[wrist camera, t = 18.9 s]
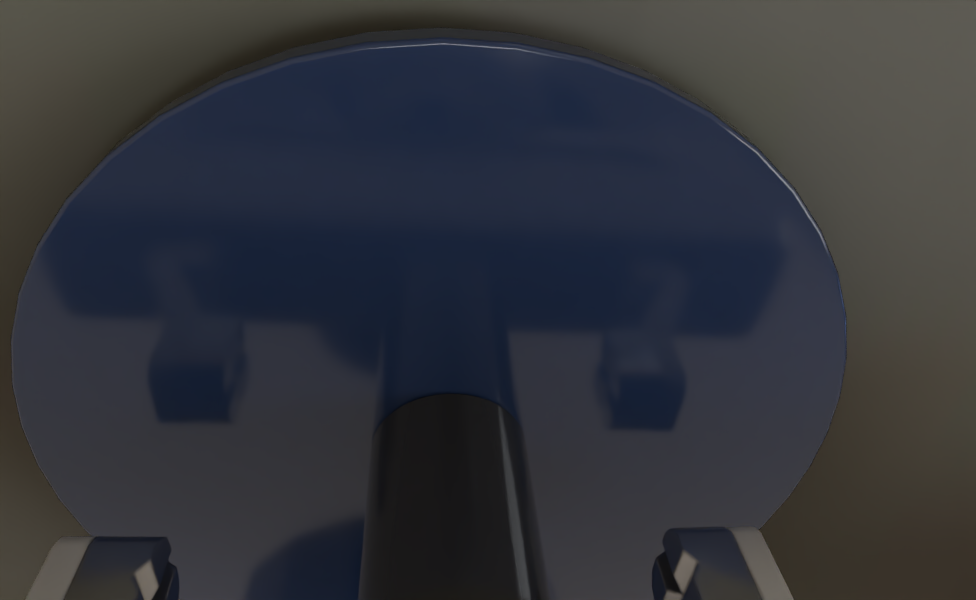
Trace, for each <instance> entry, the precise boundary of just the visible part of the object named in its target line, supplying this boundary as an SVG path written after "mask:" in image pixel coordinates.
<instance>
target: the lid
mask: <svg viewBox="0 0 976 600" xmlns="http://www.w3.org/2000/svg"><path fill="white" fill-rule="evenodd" d="M846 358H847V341H846V312H845V306H844V301H843V296H842V291H841V286H840V280H839V275H838V271H837V269H836V266H835V264H834V261H833V259H832V256H831V254H830V251H829V249H828V246H827V244H826V241H825V239H824V236H823V233H822V231H821V229H820V227H819V226H818V224H817V223H816V221H815V220H814V218H813V216H812V215H811V213H810V212H809V210H808V208H807V207H806V205H805V204H804V202H803V200H802V199H801V197H800V196H799V194H798V193H797V191H796V189H795V188H794V187H793V186H792V185H791V184H790V182H789V181H788V180H787V179H786V178H785V177H784V176H783V175H782V174H781V173H780V172H779V170H778V169H777V168H776V167H775V166H774V165H773V164H772V163H771V162H770V161H769V159H768V158H767V157H766V156H765V155H764V154H763V153H762V152H761V151H760V150H759V149H758V148H757V147H756V146H755V145H754V144H753V143H752V142H751V141H750V140H749V139H748V138H747V137H746V136H745V135H744V134H743V133H741V132H740V131H739V130H737V129H736V128H735V127H734V126H732V125H731V124H730V123H728V122H727V121H726V120H725V119H723V118H722V117H721V116H719V115H718V114H717V113H716V112H714V111H713V110H712V109H710V108H709V107H708V106H707V105H705V104H704V103H703V102H701V101H700V100H698V99H696V98H695V97H693V96H691V95H689V94H687V93H686V92H684V91H682V90H680V89H678V88H677V87H675V86H673V85H671V84H669V83H667V82H666V81H664V80H662V79H660V78H658V77H657V76H655V75H653V74H651V73H649V72H647V71H646V70H643V69H640V68H637V67H635V66H632V65H629V64H627V63H624V62H621V61H618V60H616V59H613V58H610V57H608V56H605V55H602V54H599V53H597V52H594V51H591V50H589V49H586V48H583V47H579V46H574V45H569V44H565V43H560V42H555V41H551V40H546V39H541V38H537V37H532V36H527V35H523V34H518V33H511V32H498V31H484V30H470V29H456V28H442V27H440V28H425V29H409V30H394V31H378V32H366V33H361V34H356V35H351V36H347V37H342V38H337V39H332V40H327V41H322V42H317V43H313V44H308V45H303V46H298V47H294V48H292V49H289V50H286V51H283V52H280V53H278V54H275V55H272V56H269V57H266V58H264V59H261V60H258V61H255V62H253V63H250V64H247V65H244V66H241V67H239V68H236V69H233V70H230V71H228V72H226V73H224V74H222V75H221V76H219V77H217V78H215V79H213V80H211V81H209V82H208V83H206V84H204V85H202V86H200V87H198V88H196V89H195V90H193V91H191V92H189V93H187V94H185V95H183V96H182V97H180V98H178V99H176V100H174V101H172V102H170V103H169V104H168V105H166V106H165V107H164V108H162V109H161V110H160V111H158V112H157V113H156V114H155V115H153V116H152V117H151V118H149V119H148V120H147V121H145V122H144V123H143V124H141V125H140V126H139V127H138V128H136V129H135V130H134V131H132V132H131V133H130V134H128V135H127V136H126V137H124V138H123V139H122V140H120V141H119V142H118V143H117V145H116V146H115V147H114V148H113V149H112V150H111V151H110V152H109V153H108V154H107V155H106V156H105V157H104V158H103V159H102V160H101V161H100V163H99V164H98V165H97V166H96V167H95V168H94V169H93V170H92V171H91V172H90V173H89V174H88V175H87V177H86V178H85V179H84V180H83V181H82V182H81V183H80V184H79V185H78V186H77V187H76V188H75V189H74V191H73V192H72V193H71V194H70V195H69V196H68V197H67V198H66V200H65V201H64V203H63V204H62V206H61V208H60V209H59V211H58V212H57V214H56V215H55V217H54V219H53V220H52V222H51V223H50V225H49V226H48V228H47V230H46V231H45V233H44V234H43V236H42V237H41V239H40V241H39V242H38V244H37V246H36V249H35V251H34V254H33V256H32V259H31V261H30V264H29V267H28V269H27V272H26V274H25V277H24V279H23V282H22V285H21V287H20V290H19V294H18V299H17V305H16V311H15V317H14V322H13V328H12V334H11V367H12V387H13V391H14V396H15V400H16V405H17V409H18V414H19V418H20V423H21V427H22V429H23V432H24V434H25V436H26V439H27V441H28V444H29V446H30V448H31V451H32V453H33V455H34V458H35V460H36V463H37V465H38V467H39V468H40V470H41V471H42V473H43V475H44V476H45V478H46V479H47V481H48V483H49V484H50V486H51V487H52V489H53V491H54V492H55V494H56V495H57V497H58V499H59V500H60V501H61V502H62V504H63V505H64V506H65V507H66V508H67V509H68V511H69V512H70V513H71V514H72V515H73V517H74V518H75V519H76V520H77V521H78V522H79V524H80V525H81V526H82V527H83V528H84V530H85V531H86V532H87V533H89V534H90V535H91V536H154V537H168V540H169V543H170V546H171V549H172V550H171V553H170V556H169V559H168V561H169V562H170V563H172V564H173V565H174V566H176V567H177V571H178V575H179V588H180V590H179V598H178V599H179V600H654V597H653V591H652V568H653V565H654V562H655V559H656V557H657V556H659V555H660V554H661V553H663V552H664V551H665V549H664V546H663V543H662V540H663V537H664V534H665V532H666V531H667V530H669V529H670V528H690V527H722V526H723V527H725V528H726V527H756V528H757V529H758V530H759V529H760V528H761V527H762V526H763V525H764V524H765V523H766V522H767V521H768V520H769V519H770V518H771V516H772V515H773V514H774V513H775V512H776V511H777V510H778V509H779V508H780V506H781V505H782V504H783V503H784V502H785V501H786V500H787V499H788V497H789V496H790V495H791V493H792V492H793V490H794V489H795V487H796V486H797V485H798V483H799V482H800V480H801V479H802V477H803V476H804V475H805V473H806V472H807V470H808V469H809V467H810V466H811V464H812V462H813V460H814V458H815V456H816V454H817V452H818V450H819V448H820V446H821V445H822V443H823V441H824V439H825V437H826V435H827V433H828V430H829V427H830V424H831V421H832V418H833V415H834V413H835V410H836V407H837V404H838V401H839V398H840V394H841V388H842V382H843V376H844V370H845V364H846Z"/></svg>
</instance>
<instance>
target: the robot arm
mask: <svg viewBox="0 0 976 600" xmlns="http://www.w3.org/2000/svg"><path fill="white" fill-rule="evenodd" d="M662 543H663V546H664V549H665V551H664V552H663V553H661V554H660V555H659V556H657V557H656V559H655V562H654V565H653V568H652V591H653V597H654V600H794V599H793V596H792V594H791V592H790V590H789V588H788V586H787V584H786V582H785V580H784V578H783V576H782V574H781V572H780V570H779V568H778V566H777V564H776V562H775V560H774V558H773V556H772V554H771V552H770V550H769V548H768V546H767V544H766V542H765V540H764V538H763V536H762V534H761V532H760V531H759V530H758V529H757V528H756V527H726V528H725V527H723V526H722V527H690V528H670V529H669V530H667V531H666V532H665V534H664V537H663V540H662ZM171 550H172V549H171V546H170V543H169V540H168V537H154V536H69V537H61V538H60V539H59V540H58V541H57V542H56V543H55V544H54V545H53V546H52V547H51V549H50V551H49V553H48V555H47V557H46V559H45V561H44V563H43V565H42V567H41V569H40V571H39V573H38V574H37V576H36V578H35V580H34V582H33V584H32V586H31V588H30V590H29V592H28V594H27V596H26V598H25V600H178V598H179V590H180V588H179V575H178V571H177V567H176V566H174V565H173V564H172V563H170V562H169V561H168V559H169V556H170V553H171Z"/></svg>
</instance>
